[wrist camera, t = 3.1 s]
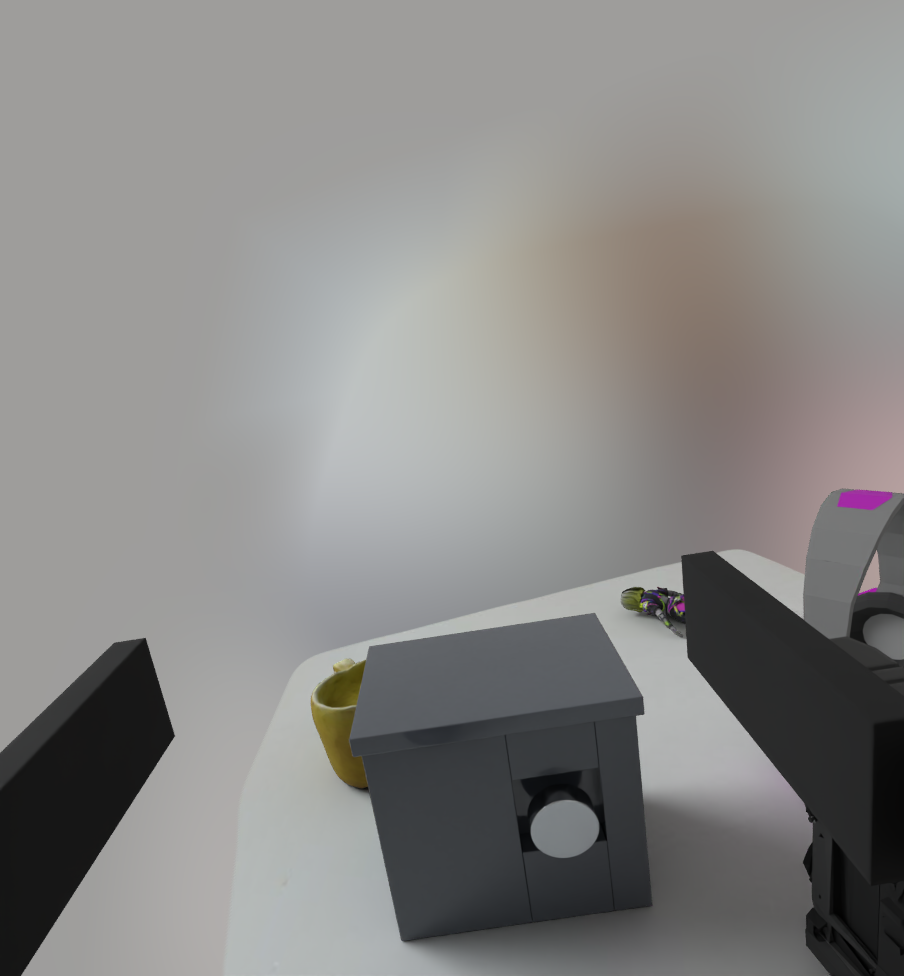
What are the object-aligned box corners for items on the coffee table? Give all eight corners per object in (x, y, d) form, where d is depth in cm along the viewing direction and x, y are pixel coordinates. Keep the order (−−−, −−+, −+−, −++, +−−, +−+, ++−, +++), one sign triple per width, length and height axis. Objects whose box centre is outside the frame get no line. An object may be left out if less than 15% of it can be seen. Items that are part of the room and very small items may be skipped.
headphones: (884, 824, 42) (892, 549, 37) (752, 768, 48) (744, 529, 43) (956, 682, 54) (969, 464, 50) (844, 653, 61) (846, 458, 56)
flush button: (534, 863, 36) (526, 806, 35) (531, 843, 37) (523, 788, 36) (602, 853, 36) (596, 795, 35) (596, 834, 37) (590, 778, 36)
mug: (460, 756, 52) (402, 657, 51) (354, 827, 50) (291, 727, 49) (435, 704, 64) (387, 623, 63) (348, 760, 62) (297, 678, 61)
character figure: (768, 611, 72) (630, 594, 80) (769, 581, 71) (629, 567, 79) (763, 651, 64) (611, 628, 72) (764, 618, 63) (610, 599, 71)
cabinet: (394, 948, 38) (348, 739, 35) (403, 817, 49) (368, 646, 45) (661, 910, 38) (643, 696, 34) (612, 786, 49) (594, 612, 45)
